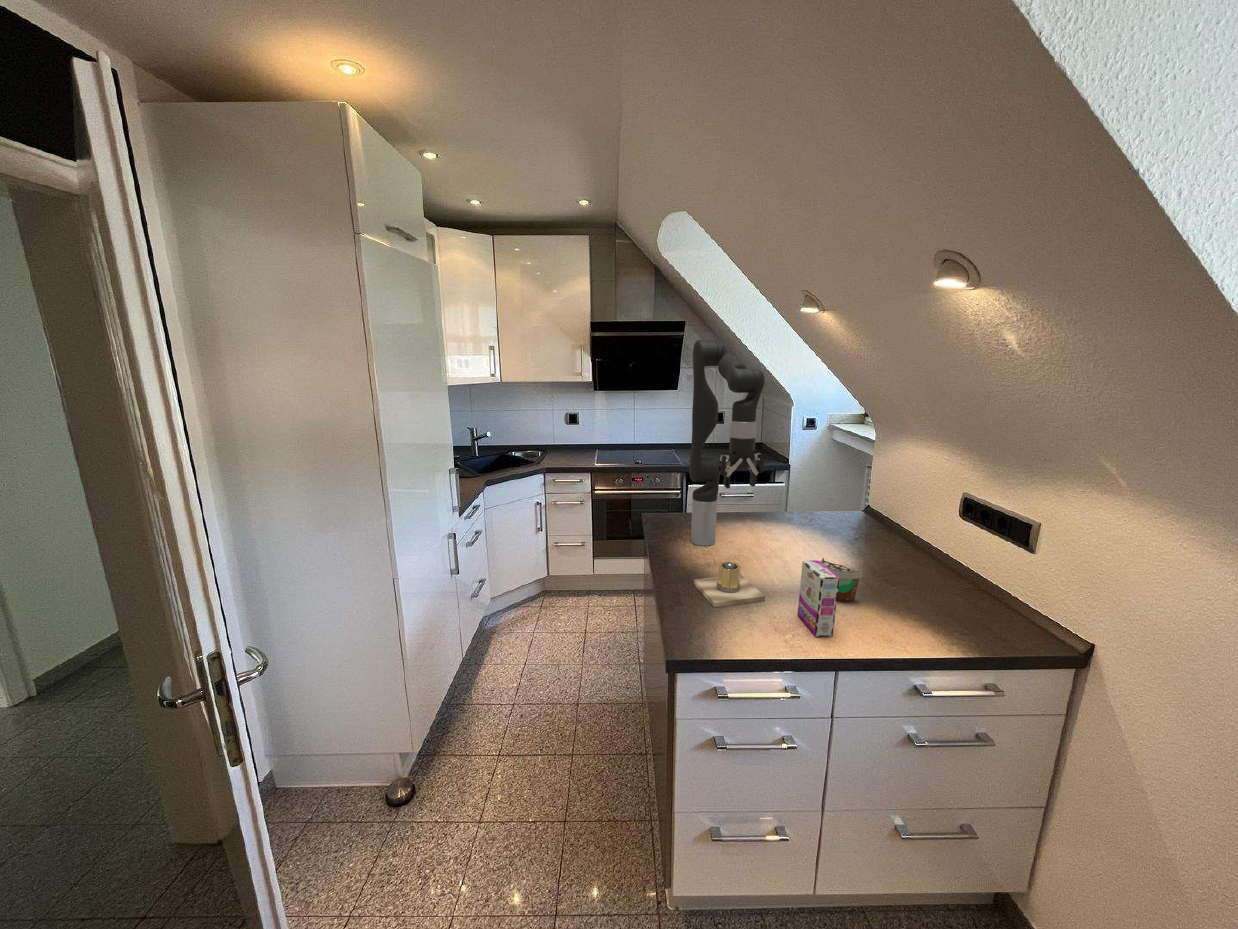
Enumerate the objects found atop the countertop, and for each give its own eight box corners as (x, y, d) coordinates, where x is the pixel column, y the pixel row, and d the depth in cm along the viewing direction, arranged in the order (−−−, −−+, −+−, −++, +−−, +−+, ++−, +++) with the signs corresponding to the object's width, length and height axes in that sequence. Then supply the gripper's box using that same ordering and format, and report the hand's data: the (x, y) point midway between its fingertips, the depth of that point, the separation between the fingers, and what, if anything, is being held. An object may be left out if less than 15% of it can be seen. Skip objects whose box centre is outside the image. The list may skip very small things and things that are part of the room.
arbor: (712, 583, 149) (713, 559, 147) (733, 581, 150) (734, 556, 149) (722, 594, 142) (724, 568, 140) (744, 591, 144) (746, 566, 142)
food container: (808, 593, 146) (811, 562, 144) (819, 587, 150) (822, 556, 148) (849, 609, 137) (853, 576, 135) (859, 602, 141) (863, 570, 139)
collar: (715, 581, 148) (716, 563, 147) (733, 579, 150) (734, 561, 148) (724, 590, 143) (725, 571, 141) (742, 587, 144) (743, 569, 143)
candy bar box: (834, 637, 123) (840, 578, 120) (815, 638, 123) (821, 578, 119) (814, 614, 134) (819, 559, 131) (796, 615, 134) (801, 559, 130)
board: (693, 583, 152) (694, 579, 151) (740, 578, 156) (740, 574, 155) (714, 607, 138) (714, 602, 137) (764, 601, 141) (765, 596, 141)
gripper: (757, 432, 152) (754, 482, 156) (715, 434, 149) (713, 485, 152) (770, 436, 145) (766, 488, 149) (726, 438, 142) (724, 491, 145)
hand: (739, 486), depth 151 cm, fingers open, 8 cm apart
